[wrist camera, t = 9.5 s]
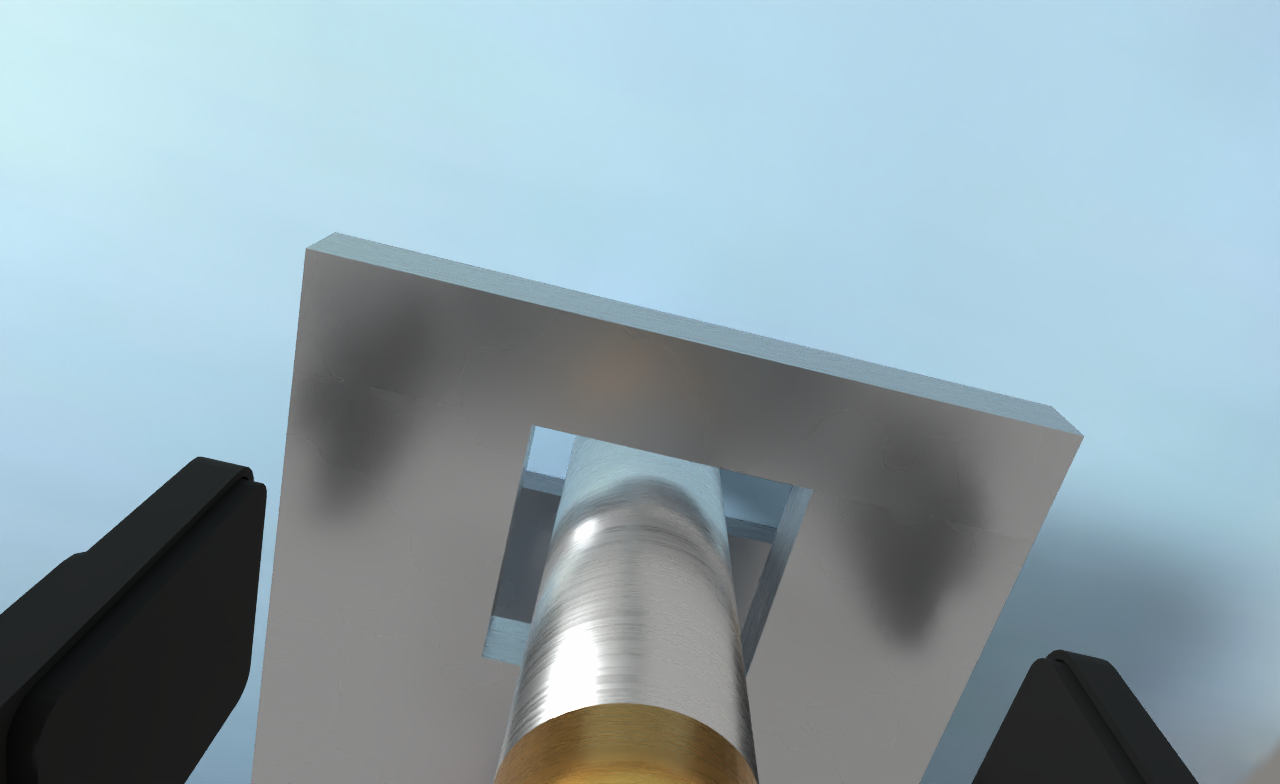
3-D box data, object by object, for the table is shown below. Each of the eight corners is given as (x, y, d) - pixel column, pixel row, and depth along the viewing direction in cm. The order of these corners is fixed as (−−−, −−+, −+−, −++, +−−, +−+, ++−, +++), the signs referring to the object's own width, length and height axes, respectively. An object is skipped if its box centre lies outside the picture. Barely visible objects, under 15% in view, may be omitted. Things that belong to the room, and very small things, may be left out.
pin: (605, 309, 19) (472, 871, 6) (720, 337, 19) (836, 944, 6) (580, 416, 20) (417, 1102, 7) (689, 441, 20) (735, 1161, 7)
